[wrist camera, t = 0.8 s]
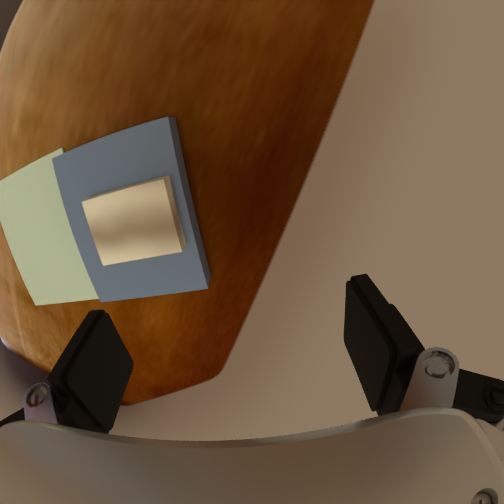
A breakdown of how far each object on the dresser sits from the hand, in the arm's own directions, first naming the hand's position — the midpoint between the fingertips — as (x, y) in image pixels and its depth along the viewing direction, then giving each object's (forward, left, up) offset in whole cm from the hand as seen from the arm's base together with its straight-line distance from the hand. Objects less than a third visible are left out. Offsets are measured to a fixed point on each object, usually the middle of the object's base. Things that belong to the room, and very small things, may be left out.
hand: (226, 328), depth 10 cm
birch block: (0, -10, -18) cm, 20 cm away
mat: (0, -27, -21) cm, 34 cm away
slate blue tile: (0, -12, -21) cm, 24 cm away
